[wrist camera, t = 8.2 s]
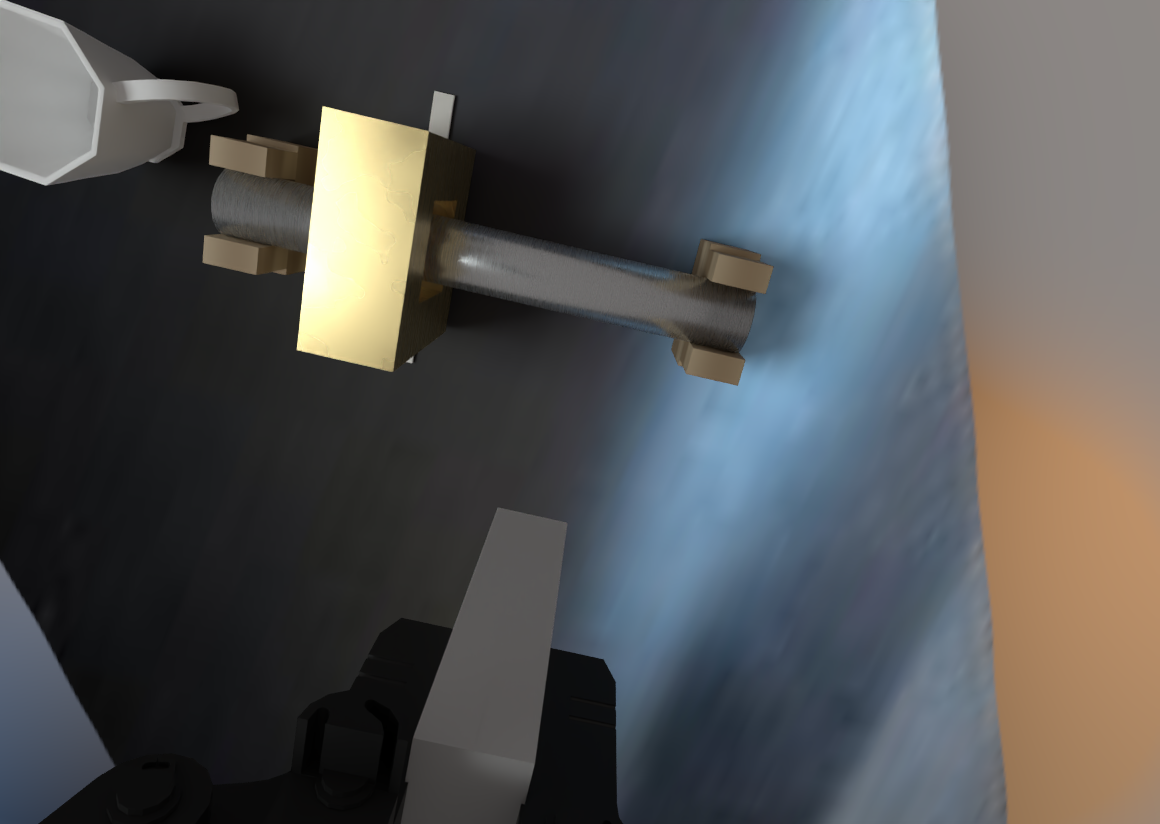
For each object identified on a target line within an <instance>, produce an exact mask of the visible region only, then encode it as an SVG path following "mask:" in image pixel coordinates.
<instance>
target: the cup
mask: <svg viewBox="0 0 1160 824" xmlns="http://www.w3.org/2000/svg"><path fill="white" fill-rule="evenodd" d="M181 101H189V102H200V103H201V104H196V105H188V106H183V104H182V103H181ZM238 111H239V106H238V100H237V95H236V93H235V92H234V91H233V90H231V89H228V88H224V87H220V86H216V85H211V84H205V83H199V82H193V81H179V80H166V79H158V78H156V77H155V76H154V75H153V74H151V73H150V72H149V71H147V70H146V69H145V68H144V67H142V66H141V65H140V64H138V63H137V62H136V61H135V60H133V59H132V58H130V57H128V56H126V55H124V54H122V53H120V52H118V51H117V50H115V49H113V48H111V47H109V46H107V45H105V44H103V43H102V42H100V41H98V40H96V39H95V38H93V37H91V36H90V35H88V34H86V33H84V32H83V31H81V30H79V29H77V28H75V27H73V26H71V25H70V24H68V23H66V22H64V21H62V20H59V19H56V18H53V17H50V16H48V15H45V14H42V13H39V12H36V11H34V10H31V9H28V8H25V7H22V6H20V5H17V4H14V3H11V2H8V1H5V0H0V170H2V171H5V172H8V173H11V174H14V175H17V176H20V177H23V178H26V179H28V180H31V181H34V182H37V183H40V184H43V185H52V184H58V183H64V182H69V181H74V180H79V179H84V178H90V177H96V176H103V175H109V174H115V173H119V172H122V171H125V170H128V169H130V168H133V167H136V166H138V165H141V164H144V163H145V162H147V161H150V162H153V163H158V162H160V161H162V160H163V159H165V158H167V157H169V156H170V155H172V154H174V153H175V152H177V151H179V150H180V149H182V148H183V147H184V140H185V134H186V128H187V123H191V122H202V121H207V120H213V119H217V118H221V117H225V116H228V115H231V114H235V113H236V112H238Z"/></svg>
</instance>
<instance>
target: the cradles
mask: <svg viewBox="0 0 1160 824" xmlns="http://www.w3.org/2000/svg"><path fill="white" fill-rule="evenodd" d="M317 156H318V149H315V148H311V147H307V146H302V145H298V144H294V143H290V142H285V141H280V140H275V139H270V138H264V137H259V136H254V135H249V134H247V141H244V140H238V139H232V138H227V137H221V136H215V135H211V142H210V158H209V164H210V165H214V166H218V167H223V168H227V169H231V170H236V171H240V172H244V173H248V174H253V175H257V176H261V177H267V178H280V179H285V180H289V181H293V182H298V183H302V184H306V185H310V186H314V185H315V175H316V166H317ZM760 257H761V254H758V253H755V252H752V251H749V250H746V249H741V248H737V247H733V246H729V245H724V244H720V243H716V242H712V241H707V240H703V239H701V241H700V244H699V248H698V252H697V256H696V259H695V263H694V267H693V270H692V275H696V276H700V277H705V278H708V279H709V280H710V281H712V282H716V283H720V284H724V285H729V286H733V287H737V288H741V289H746V290H750V291H754V292H759V293H763V294H766V290H767V287H768V284H769V281H770V277H771V274H772V271H773V266H771V265H768V264H766V263H763V262H760ZM306 260H307V254H306V253H301V252H297V251H293V250H288V249H284V248H280V247H275V246H271V245H267V244H263V243H258V242H254V241H250V240H245V239H241V238H237V237H232V236H228V235H224V234H215V235H205V236H204V252H203V263H207V264H211V265H215V266H220V267H224V268H228V269H233V270H237V271H242V272H246V273H250V274H255V275H258V274H263V273H268V272H275V273H279V274H284V275H288V274H293V273H298V272H302V271H305V269H306ZM672 352H673V354H674V357H675V359H676V361H677V364H678V365H679V366H683V368H684V370H685V373H686V374H689V375H694V376H698V377H702V378H707V379H711V380H715V381H720V382H724V383H729V384H733V385H737V386H738V383H739V380H740V377H741V373H742V370H743V367H744V363H745V359H744V358H743V357H742V356H741V354H740V353H739V352H738V353H734V352H730V351H726V350H721V349H717V348H713V347H708V346H704V345H700V344H695V343H691V342H687V341H682V340H678V339H674V341H673V345H672Z"/></svg>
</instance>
